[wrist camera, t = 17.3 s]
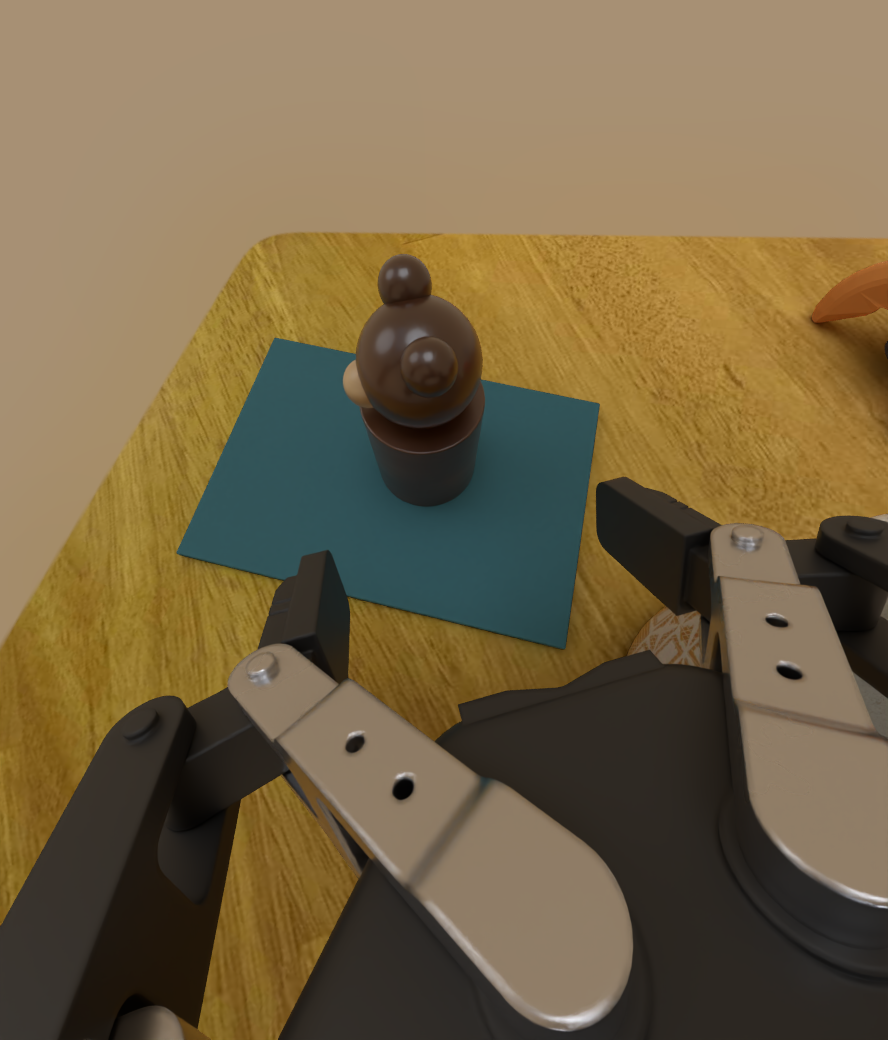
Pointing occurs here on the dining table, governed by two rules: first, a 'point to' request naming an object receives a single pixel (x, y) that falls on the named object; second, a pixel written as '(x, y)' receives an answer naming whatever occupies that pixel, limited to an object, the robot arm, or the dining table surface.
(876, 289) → the toy rocket
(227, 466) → the mat
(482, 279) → the dining table surface
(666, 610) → the planter
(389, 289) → the toy teddy
